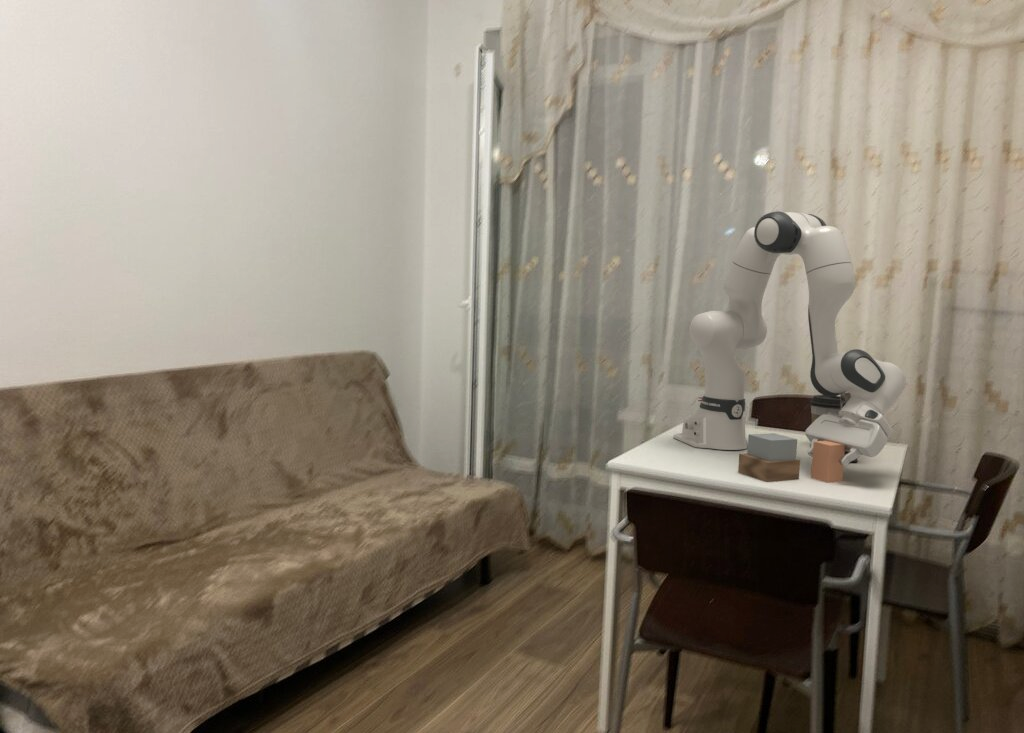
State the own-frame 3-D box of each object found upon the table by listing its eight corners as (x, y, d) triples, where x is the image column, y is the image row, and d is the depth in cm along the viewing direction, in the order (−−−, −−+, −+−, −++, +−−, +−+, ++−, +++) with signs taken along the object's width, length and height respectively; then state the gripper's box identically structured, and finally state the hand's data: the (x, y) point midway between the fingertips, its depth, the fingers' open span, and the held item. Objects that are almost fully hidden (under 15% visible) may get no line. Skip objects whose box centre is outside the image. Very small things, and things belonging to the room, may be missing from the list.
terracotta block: (810, 477, 193) (813, 441, 192) (825, 476, 195) (828, 440, 194) (826, 482, 188) (829, 445, 188) (842, 481, 191) (845, 444, 190)
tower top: (747, 454, 195) (748, 434, 194) (772, 453, 198) (774, 433, 197) (769, 461, 187) (771, 440, 187) (795, 459, 190) (797, 439, 190)
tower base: (737, 473, 196) (739, 453, 195) (768, 471, 200) (770, 451, 199) (767, 483, 187) (768, 462, 186) (798, 480, 191) (800, 460, 190)
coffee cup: (856, 450, 231) (860, 399, 229) (825, 452, 226) (829, 400, 225) (827, 443, 241) (831, 394, 240) (797, 444, 237) (801, 394, 235)
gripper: (819, 403, 202) (787, 442, 199) (887, 416, 184) (854, 459, 181) (831, 419, 205) (799, 459, 202) (899, 434, 186) (866, 477, 183)
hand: (826, 459), depth 191 cm, fingers open, 8 cm apart
